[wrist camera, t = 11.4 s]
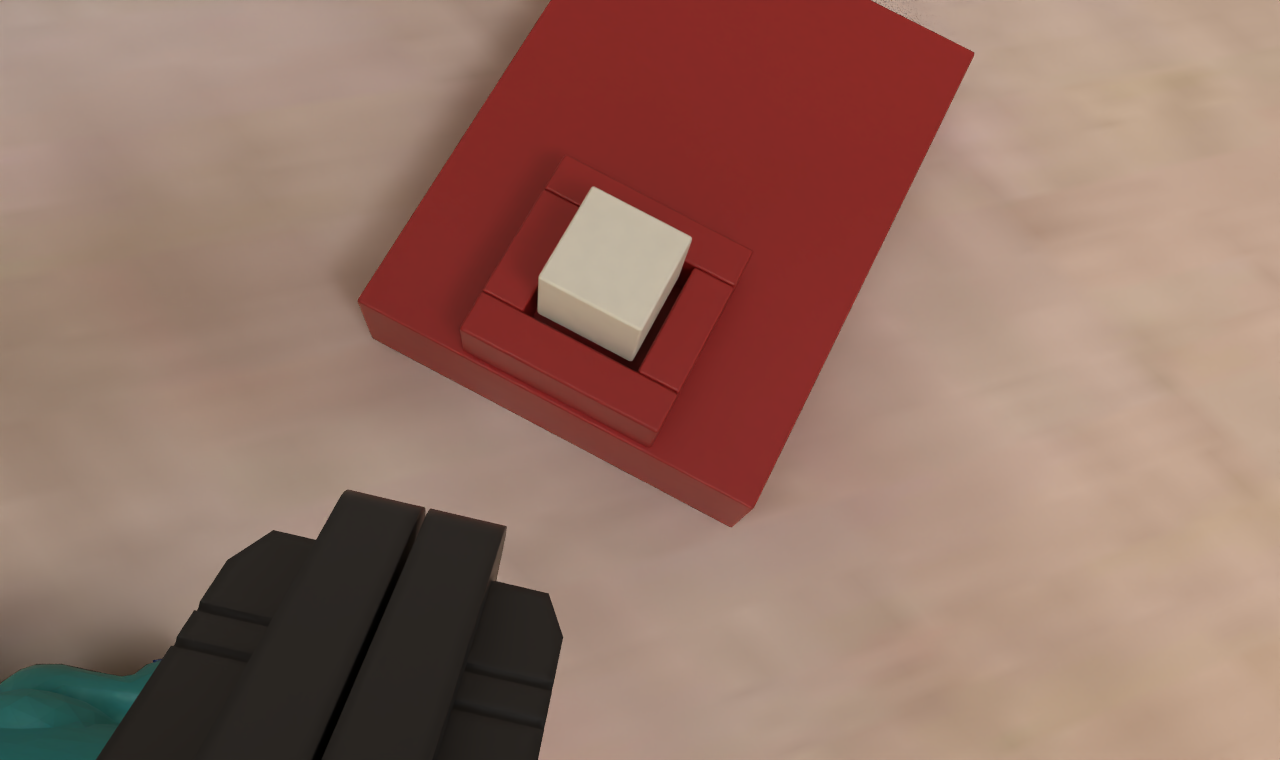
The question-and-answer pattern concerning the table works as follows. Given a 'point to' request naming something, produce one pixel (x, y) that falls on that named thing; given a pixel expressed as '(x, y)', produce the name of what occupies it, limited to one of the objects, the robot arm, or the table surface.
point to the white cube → (611, 273)
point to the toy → (64, 710)
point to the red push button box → (673, 221)
